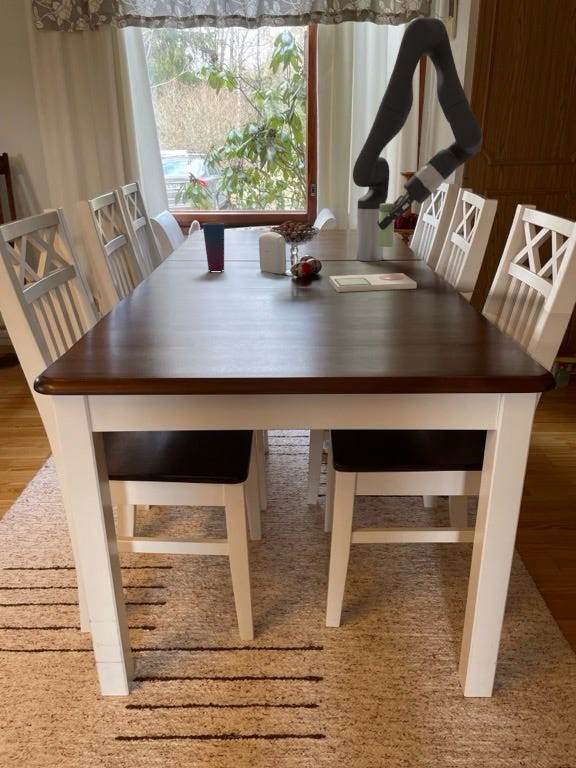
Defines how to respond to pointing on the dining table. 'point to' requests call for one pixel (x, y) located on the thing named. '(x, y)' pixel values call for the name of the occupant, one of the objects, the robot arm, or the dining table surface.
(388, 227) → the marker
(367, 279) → the picture board
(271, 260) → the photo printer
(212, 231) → the cup
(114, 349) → the dining table surface
